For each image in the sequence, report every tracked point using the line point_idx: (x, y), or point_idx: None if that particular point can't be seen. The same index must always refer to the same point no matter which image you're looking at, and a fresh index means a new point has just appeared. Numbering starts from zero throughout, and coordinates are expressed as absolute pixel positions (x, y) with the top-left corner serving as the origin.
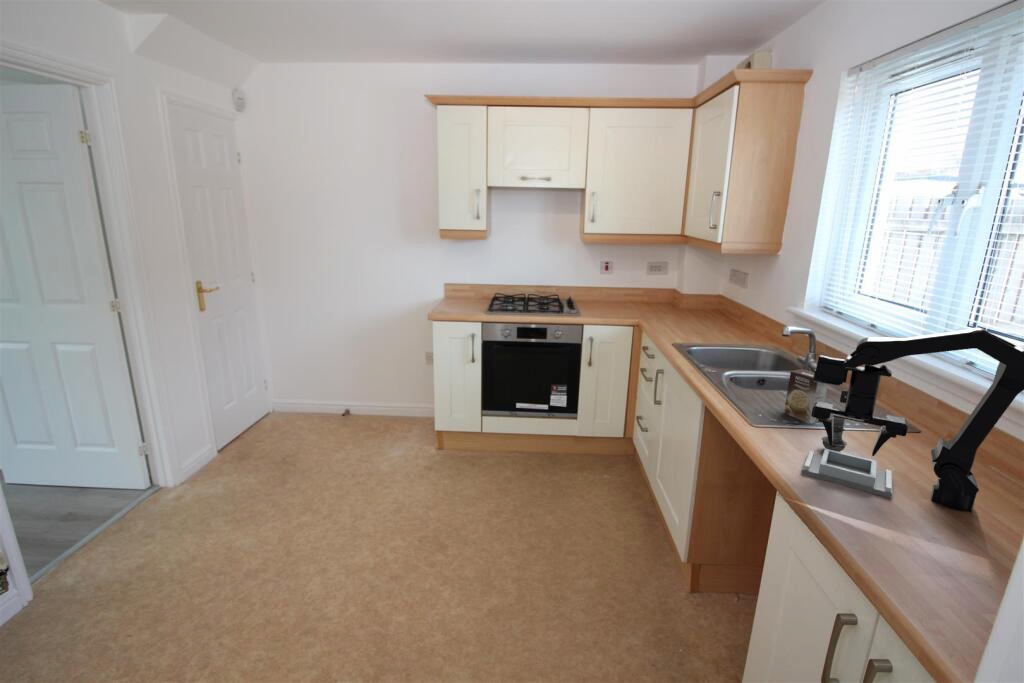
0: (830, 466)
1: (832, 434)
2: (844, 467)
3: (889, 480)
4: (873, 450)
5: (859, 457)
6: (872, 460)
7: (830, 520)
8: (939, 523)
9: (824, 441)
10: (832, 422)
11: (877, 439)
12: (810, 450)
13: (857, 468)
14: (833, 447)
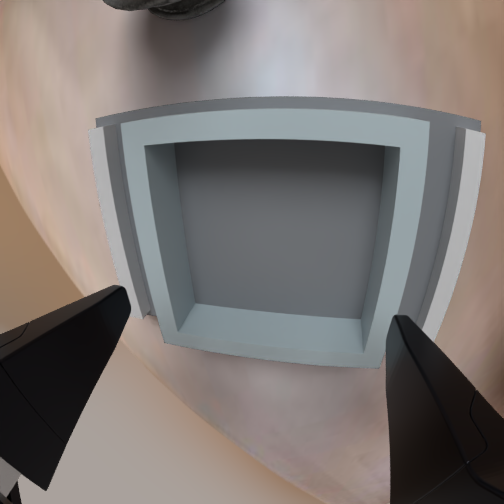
0: (200, 349)
1: (80, 389)
2: (260, 184)
3: (450, 278)
4: (387, 396)
5: (324, 122)
6: (405, 127)
7: (262, 451)
8: (486, 382)
9: (107, 3)
10: (23, 460)
11: (410, 481)
12: (89, 130)
13: (324, 152)
14: (164, 4)
